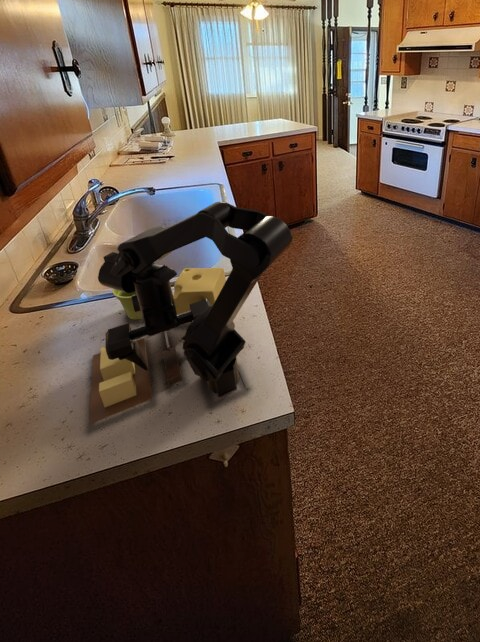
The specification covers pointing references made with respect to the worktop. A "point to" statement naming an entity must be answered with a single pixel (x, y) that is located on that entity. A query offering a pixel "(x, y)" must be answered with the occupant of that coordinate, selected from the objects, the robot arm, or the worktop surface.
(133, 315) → the plant pot
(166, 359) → the knife
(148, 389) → the board
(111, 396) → the butter slice
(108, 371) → the butter
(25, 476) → the worktop surface
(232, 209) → the robot arm
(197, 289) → the cheese
